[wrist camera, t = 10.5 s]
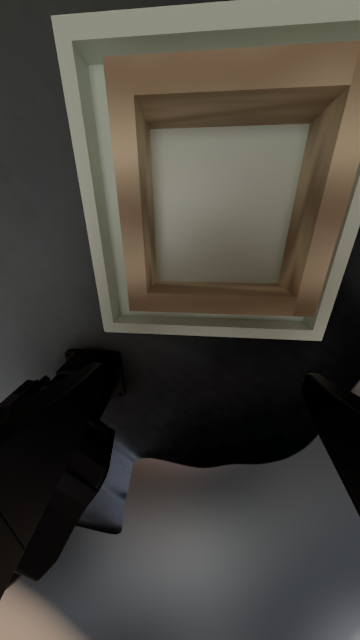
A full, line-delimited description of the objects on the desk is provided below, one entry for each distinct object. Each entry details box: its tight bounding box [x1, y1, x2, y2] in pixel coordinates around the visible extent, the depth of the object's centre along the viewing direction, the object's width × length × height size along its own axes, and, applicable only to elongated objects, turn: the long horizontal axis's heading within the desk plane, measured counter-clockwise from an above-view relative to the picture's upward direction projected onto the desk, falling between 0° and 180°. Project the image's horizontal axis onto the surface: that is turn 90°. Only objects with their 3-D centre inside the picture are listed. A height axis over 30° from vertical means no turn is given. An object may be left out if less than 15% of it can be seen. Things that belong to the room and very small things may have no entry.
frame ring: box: [103, 40, 360, 317], centre depth 14 cm, size 14×14×4 cm
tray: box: [51, 0, 360, 341], centre depth 16 cm, size 20×20×2 cm
